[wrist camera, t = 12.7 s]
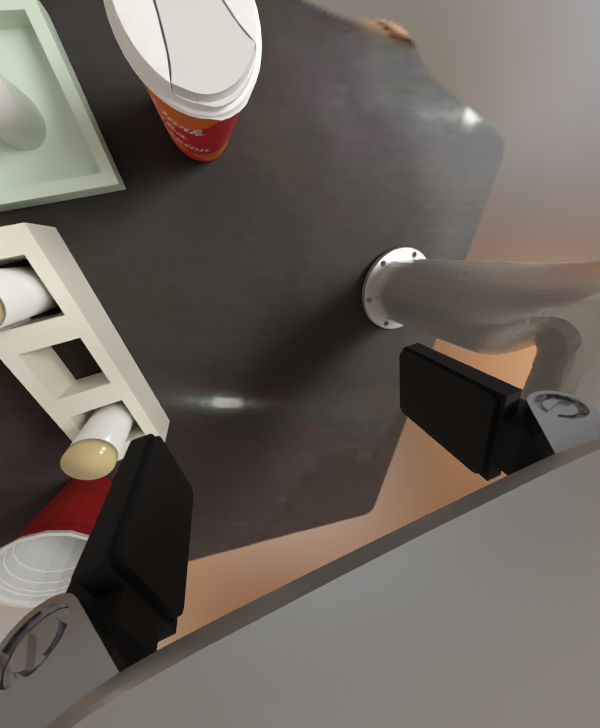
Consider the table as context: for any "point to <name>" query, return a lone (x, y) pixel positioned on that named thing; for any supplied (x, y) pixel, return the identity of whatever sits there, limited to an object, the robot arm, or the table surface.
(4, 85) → the white and orange cylinder
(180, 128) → the coffee cup
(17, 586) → the plastic cup
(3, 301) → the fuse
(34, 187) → the tray
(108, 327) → the holder
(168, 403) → the table surface
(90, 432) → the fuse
